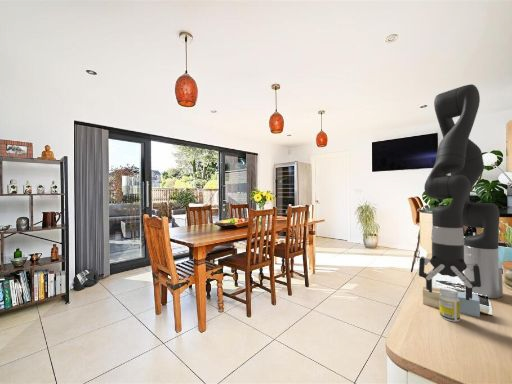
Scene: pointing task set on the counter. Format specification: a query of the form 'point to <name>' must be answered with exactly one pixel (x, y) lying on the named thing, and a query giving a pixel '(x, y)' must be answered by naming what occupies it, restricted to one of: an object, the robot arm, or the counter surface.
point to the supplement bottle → (449, 304)
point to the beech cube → (431, 296)
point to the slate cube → (469, 304)
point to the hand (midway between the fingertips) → (448, 295)
